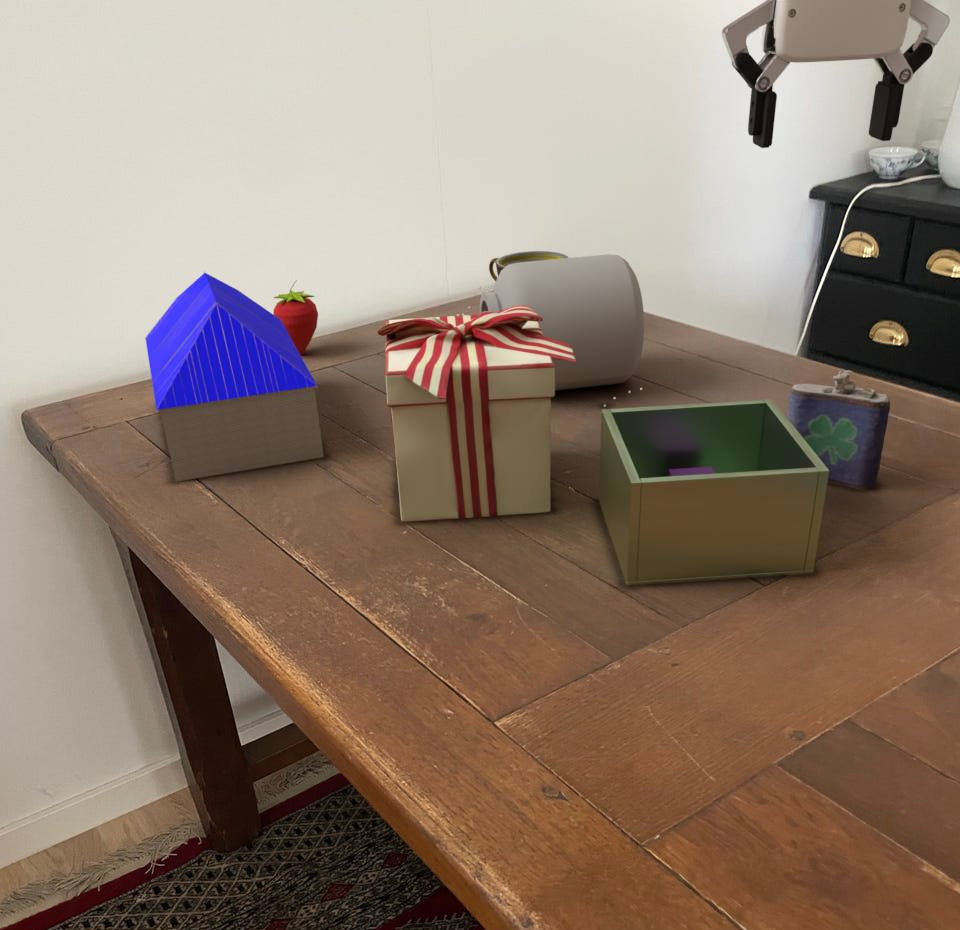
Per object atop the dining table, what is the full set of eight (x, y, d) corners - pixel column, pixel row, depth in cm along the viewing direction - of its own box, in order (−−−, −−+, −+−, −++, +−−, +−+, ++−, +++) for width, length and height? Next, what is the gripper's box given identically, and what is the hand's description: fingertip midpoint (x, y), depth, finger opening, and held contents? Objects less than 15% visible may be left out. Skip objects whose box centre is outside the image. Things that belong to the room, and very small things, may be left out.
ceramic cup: (584, 331, 142) (585, 257, 136) (537, 350, 136) (536, 273, 131) (515, 316, 150) (513, 244, 144) (467, 333, 144) (464, 259, 138)
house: (160, 403, 126) (130, 272, 117) (290, 384, 130) (270, 255, 121) (173, 485, 106) (138, 333, 97) (327, 459, 110) (307, 311, 101)
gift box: (403, 545, 93) (385, 359, 83) (386, 463, 108) (370, 297, 98) (586, 524, 95) (589, 339, 85) (544, 447, 110) (543, 282, 100)
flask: (776, 476, 101) (790, 370, 95) (785, 465, 103) (799, 360, 97) (872, 494, 97) (892, 385, 91) (879, 482, 99) (900, 374, 93)
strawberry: (324, 345, 142) (315, 271, 137) (321, 363, 136) (311, 286, 130) (282, 347, 142) (270, 273, 136) (276, 365, 136) (264, 289, 130)
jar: (653, 379, 112) (424, 358, 110) (623, 439, 126) (420, 422, 124) (654, 230, 116) (435, 208, 115) (626, 304, 131) (430, 286, 129)
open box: (760, 493, 98) (772, 398, 93) (813, 575, 85) (829, 470, 80) (599, 504, 98) (601, 409, 93) (626, 587, 85) (631, 482, 80)
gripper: (950, -123, 77) (907, 129, 86) (721, -111, 77) (704, 141, 86) (997, -130, 71) (945, 143, 80) (748, -117, 70) (726, 155, 80)
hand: (820, 141), depth 83 cm, fingers open, 9 cm apart
